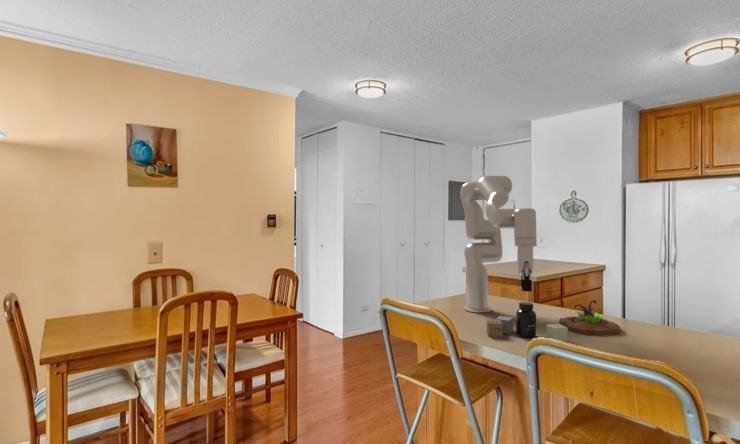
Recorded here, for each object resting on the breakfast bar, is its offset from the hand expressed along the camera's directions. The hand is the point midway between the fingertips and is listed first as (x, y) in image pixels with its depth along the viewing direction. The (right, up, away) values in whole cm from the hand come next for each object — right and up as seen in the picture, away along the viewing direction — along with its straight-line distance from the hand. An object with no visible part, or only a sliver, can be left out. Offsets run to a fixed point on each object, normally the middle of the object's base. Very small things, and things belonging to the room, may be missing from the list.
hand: (526, 288), depth 142 cm
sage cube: (+9, -17, -5) cm, 20 cm away
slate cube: (-6, -17, +7) cm, 20 cm away
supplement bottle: (0, -18, +1) cm, 18 cm away
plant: (+29, -17, +9) cm, 35 cm away
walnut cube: (-11, -18, +2) cm, 21 cm away
